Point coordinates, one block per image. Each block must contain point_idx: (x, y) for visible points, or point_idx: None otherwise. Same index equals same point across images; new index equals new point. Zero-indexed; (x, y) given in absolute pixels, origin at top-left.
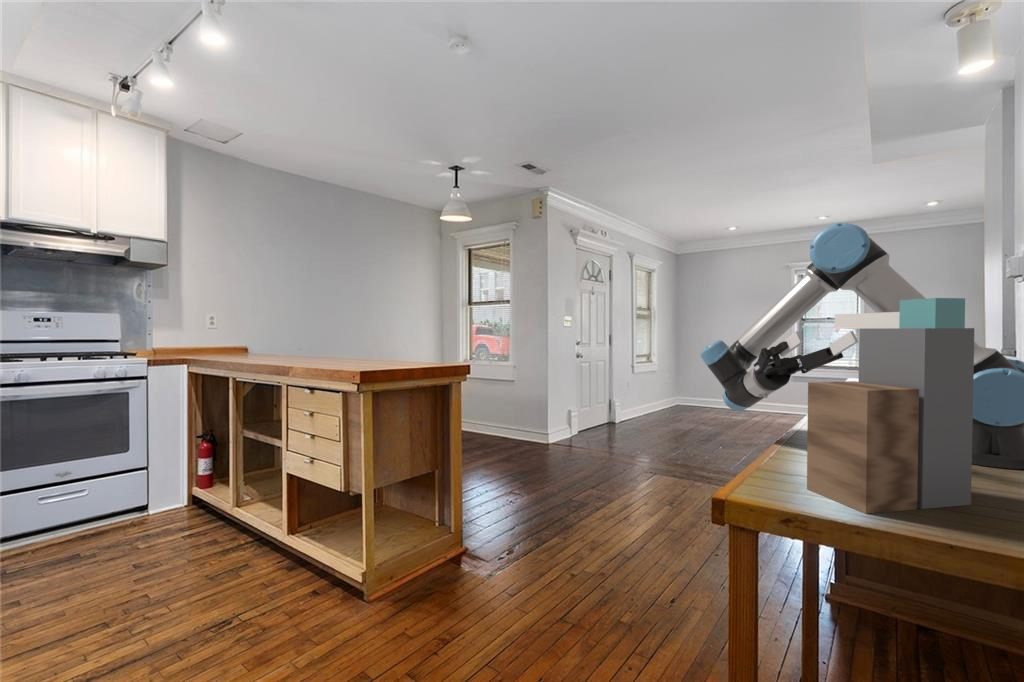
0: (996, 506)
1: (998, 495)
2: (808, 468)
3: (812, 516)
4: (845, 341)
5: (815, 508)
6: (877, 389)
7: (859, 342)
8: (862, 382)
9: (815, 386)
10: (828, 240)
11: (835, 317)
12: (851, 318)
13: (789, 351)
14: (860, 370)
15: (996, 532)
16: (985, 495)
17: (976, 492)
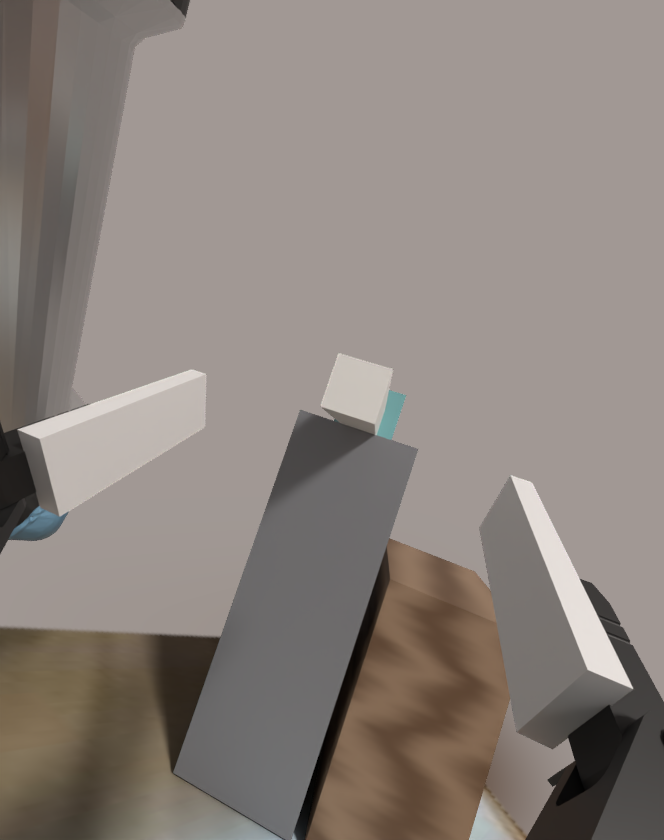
0: (212, 649)
1: (140, 646)
2: None
3: (509, 817)
4: (171, 421)
5: (485, 835)
6: (451, 564)
7: (407, 481)
8: (393, 570)
9: None
10: None
11: (388, 381)
12: (385, 399)
13: (508, 633)
14: (385, 546)
15: None
16: (155, 658)
17: (143, 667)
